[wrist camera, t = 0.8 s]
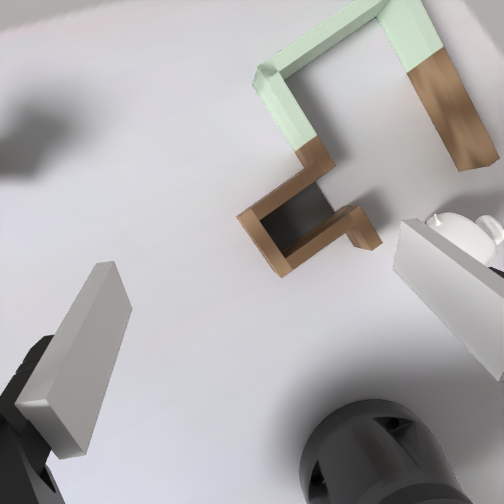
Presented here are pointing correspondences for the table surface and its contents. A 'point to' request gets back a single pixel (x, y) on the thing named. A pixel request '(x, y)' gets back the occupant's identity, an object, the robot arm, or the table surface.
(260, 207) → the walnut maze corridor
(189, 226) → the table surface
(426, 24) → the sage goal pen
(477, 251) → the elephant figurine
